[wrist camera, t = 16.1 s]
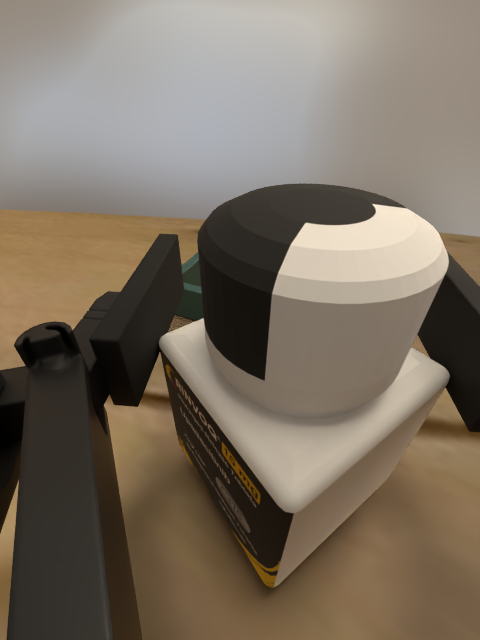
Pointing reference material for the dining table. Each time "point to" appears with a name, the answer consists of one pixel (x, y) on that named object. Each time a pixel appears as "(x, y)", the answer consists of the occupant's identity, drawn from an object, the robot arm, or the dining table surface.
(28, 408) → the robot arm
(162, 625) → the dining table surface
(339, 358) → the medicine bottle
